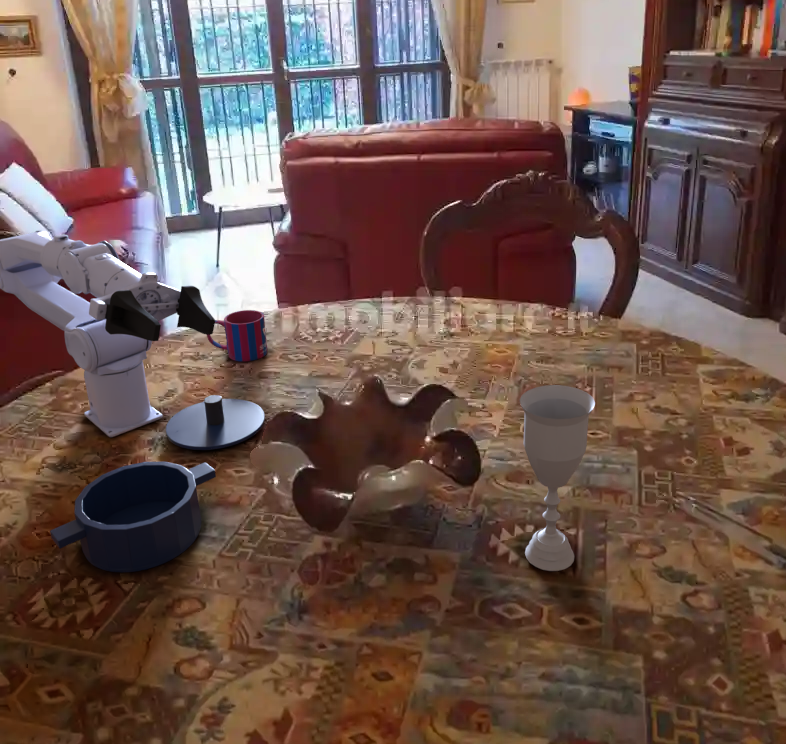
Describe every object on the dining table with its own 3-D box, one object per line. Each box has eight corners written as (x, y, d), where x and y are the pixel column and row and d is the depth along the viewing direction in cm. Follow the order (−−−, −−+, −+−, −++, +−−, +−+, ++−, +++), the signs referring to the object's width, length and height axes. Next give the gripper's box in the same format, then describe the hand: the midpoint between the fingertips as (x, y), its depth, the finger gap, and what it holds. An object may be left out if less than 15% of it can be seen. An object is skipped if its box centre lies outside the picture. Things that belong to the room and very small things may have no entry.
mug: (261, 362, 126) (257, 324, 124) (204, 361, 127) (199, 324, 125) (272, 346, 132) (268, 309, 130) (217, 345, 133) (212, 309, 131)
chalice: (541, 586, 74) (549, 426, 68) (501, 547, 80) (505, 396, 73) (598, 561, 77) (611, 406, 71) (556, 525, 83) (564, 379, 77)
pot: (41, 545, 83) (31, 503, 81) (188, 478, 94) (183, 441, 92) (85, 604, 74) (76, 559, 72) (242, 522, 85) (237, 482, 83)
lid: (149, 428, 106) (144, 399, 105) (233, 396, 115) (229, 368, 113) (197, 465, 97) (192, 434, 95) (284, 427, 105) (281, 398, 104)
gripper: (75, 262, 91) (135, 302, 83) (178, 259, 102) (239, 295, 94) (68, 316, 93) (126, 360, 85) (169, 308, 104) (229, 346, 96)
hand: (185, 330), depth 90 cm, fingers open, 7 cm apart
